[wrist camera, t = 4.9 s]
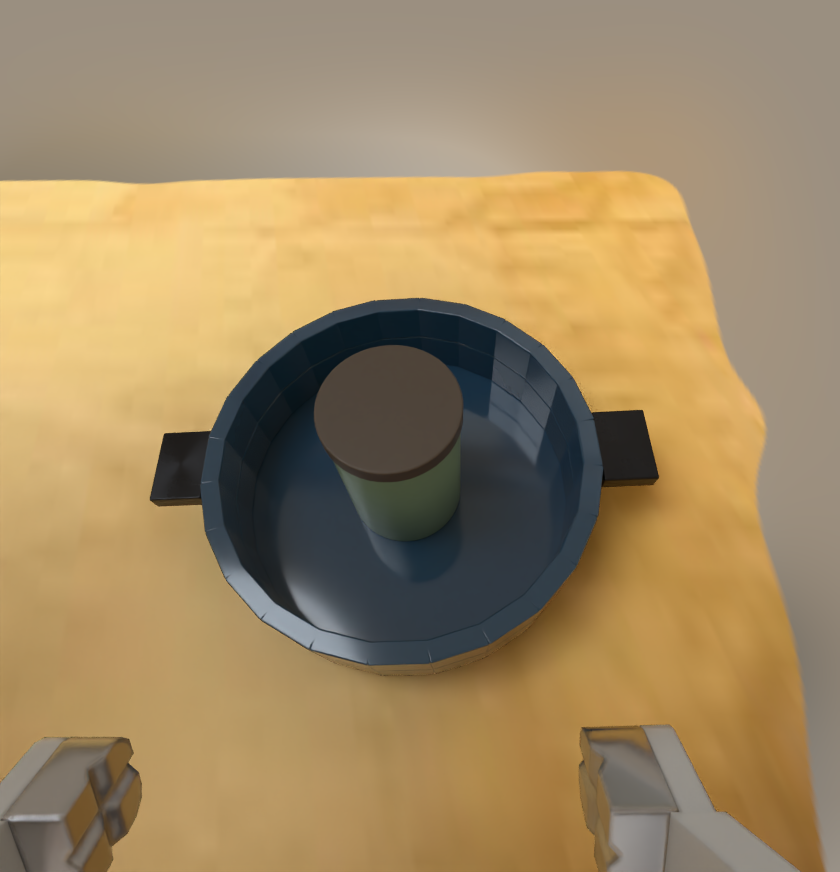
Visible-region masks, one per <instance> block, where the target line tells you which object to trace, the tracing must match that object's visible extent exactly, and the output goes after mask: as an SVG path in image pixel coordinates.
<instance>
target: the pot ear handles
mask: <svg viewBox="0 0 840 872" xmlns="http://www.w3.org/2000/svg"><path fill="white" fill-rule="evenodd" d="M592 415H593V417H594V421H595V426H596V431H597V436H598V441H599V447H600V452H601V457H602V462H603V477H602V486H601V487H618V486H641V485H654V483H655V482H656V481H657V480H658V478H659V475H658V471H657V467H656V463H655V458H654V454H653V450H652V446H651V442H650V438H649V434H648V429H647V425H646V421H645V417H644V413H643V410H631V411H611V412H593V413H592ZM210 433H211V431H203V432H182V433H165V434H164V436H163V441H162V445H161V450H160V455H159V459H158V464H157V468H156V473H155V477H154V482H153V487H152V491H151V496H150V501H152V502H153V503H154V504H156V505H157V506H181V505H202V499H201V490H200V485H201V477H202V471H203V466H204V460H205V454H206V449H207V443H208V439H209V435H210Z"/></svg>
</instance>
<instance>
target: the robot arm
mask: <svg viewBox="0 0 840 872" xmlns="http://www.w3.org/2000/svg"><path fill="white" fill-rule="evenodd" d="M580 748H581V752H582V756H583V759H584V760H583V761H582V762H581V763H580V764H579V787H580V798H581V803H582V809H583V814H584V818H585V822H586V826H587V828H588V830H589V831H590V832H591V833H592V834H593V835H594V836H595V847H594V857H595V860H596V864H597V868H598V871H599V872H801V871H799V870H798V869H797V868H796V867H794V866H793V865H792V864H791V863H789V862H788V861H787V860H786V859H784V858H783V857H782V856H781V855H779V854H778V853H777V852H776V851H774V850H773V849H772V848H771V847H769V846H768V845H767V844H766V843H764V842H763V841H762V840H761V839H759V838H758V837H757V836H756V835H754V834H753V833H752V832H751V831H749V830H748V829H747V828H746V827H744V826H743V825H742V824H741V823H739V822H738V821H737V820H736V819H734V818H733V817H732V816H730V815H729V814H728V813H727V812H716V810H715V808H714V806H713V804H712V802H711V800H710V798H709V796H708V794H707V792H706V790H705V788H704V787H703V785H702V783H701V781H700V779H699V777H698V775H697V773H696V771H695V769H694V767H693V765H692V763H691V761H690V759H689V757H688V755H687V753H686V751H685V749H684V747H683V745H682V743H681V741H680V739H679V738H678V736H677V734H676V732H675V730H674V729H673V728H672V727H671V726H670V725H640V726H608V727H582V728H581V732H580ZM133 754H134V752H133V749H132V746H131V743H130V740H129V739H127V738H123V737H44V738H42V739H41V740H39V741H37V742H35V743H34V744H33V745H32V746H31V748H30V749H29V750H28V751H27V752H26V753H25V755H24V756H23V757H22V758H21V759H20V760H19V762H18V763H17V764H16V765H15V766H14V767H13V769H12V770H11V771H10V772H9V773H8V775H7V776H6V777H5V778H4V779H3V780H2V782H1V783H0V872H107V870H108V868H109V867H110V865H111V863H112V861H113V853H112V846H113V845H114V844H115V843H117V842H118V841H119V840H120V839H121V838H123V837H124V836H125V835H126V834H128V832H129V830H130V828H131V826H132V824H133V822H134V820H135V818H136V817H137V813H138V809H139V805H140V802H141V798H142V783H141V779H140V775H139V772H138V771H137V770H135V769H134V768H133V767H132V766H131V765H130V764H129V763H128V762H129V761H130V759H131V757H132V755H133Z"/></svg>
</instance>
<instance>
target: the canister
mask: <svg viewBox="0 0 840 872" xmlns="http://www.w3.org/2000/svg"><path fill="white" fill-rule="evenodd" d="M314 423H315V428H316V431H317V434H318V437H319V439H320V441H321V443H322V445H323V447H324V449H325V451H326V452H327V454H328V455H329V457H330V458H331V459H332V460H333V462H334V464H335V466H336V468H337V470H338V472H339V474H340V476H341V479H342V481H343V483H344V485H345V487H346V489H347V491H348V493H349V495H350V498H351V500H352V502H353V504H354V506H355V508H356V510H357V512H358V514H359V516H360V518H361V519H362V521H363V522H364V523H365V524H366V525H367V526H368V527H369V528H370V529H371V530H372V531H374V532H375V533H377V534H378V535H380V536H383V537H385V538H388V539H391V540H397V541H414V540H418V539H422V538H425V537H428V536H430V535H432V534H434V533H435V532H437V531H438V530H440V529H441V528H442V527H443V526H444V525H445V524H446V523H447V522H448V521H449V520H450V519H451V517H452V516H453V514H454V512H455V510H456V508H457V506H458V502H459V498H460V432H461V429H462V424H463V397H462V392H461V389H460V386H459V384H458V382H457V379H456V378H455V376H454V375H453V373H452V372H451V371H450V370H449V368H448V367H447V366H446V365H445V364H444V363H442V362H441V361H440V360H439V359H437V358H436V357H434V356H433V355H431V354H429V353H427V352H425V351H423V350H420V349H417V348H413V347H408V346H401V345H385V346H378V347H373V348H369V349H366V350H363V351H360V352H358V353H356V354H354V355H352V356H350V357H349V358H347V359H345V360H344V361H343V362H341V363H340V364H339V365H337V366H336V367H335V368H334V369H333V370H332V371H331V372H330V374H329V375H328V376H327V377H326V379H325V380H324V382H323V383H322V385H321V387H320V389H319V392H318V394H317V397H316V401H315V406H314Z"/></svg>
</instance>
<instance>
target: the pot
mask: <svg viewBox="0 0 840 872" xmlns="http://www.w3.org/2000/svg"><path fill="white" fill-rule="evenodd" d="M385 345H401V346H408V347H413V348H417V349H420V350H423V351H425V352H427V353H429V354H431V355H433V356H434V357H436V358H437V359H439V360H440V361H441V362H442V363H444V364H445V365H446V366H447V367H448V368H449V370H450V371H451V372H452V373H453V375H454V376H455V378H456V379H457V382H458V384H459V386H460V389H461V392H462V397H463V424H462V429H461V432H460V498H459V502H458V506H457V508H456V510H455V512H454V514H453V516H452V517H451V519H450V520H449V521H448V522H447V523H446V524H445V525H444V526H443V527H442V528H441V529H440V530H438V531H437V532H435V533H434V534H432V535H430V536H428V537H425V538H422V539H418V540H414V541H397V540H391V539H388V538H385V537H383V536H380V535H378V534H377V533H375V532H374V531H372V530H371V529H370V528H369V527H368V526H367V525H366V524H365V523H364V522H363V521H362V519H361V518H360V516H359V514H358V512H357V510H356V508H355V506H354V504H353V502H352V500H351V498H350V495H349V493H348V491H347V489H346V487H345V485H344V483H343V481H342V479H341V476H340V474H339V472H338V470H337V468H336V466H335V464H334V462H333V460H332V459H331V458H330V457H329V455H328V454H327V452H326V451H325V449H324V447H323V445H322V443H321V441H320V439H319V437H318V434H317V431H316V428H315V423H314V406H315V401H316V397H317V394H318V392H319V389H320V387H321V385H322V383H323V382H324V380H325V379H326V377H327V376H328V375H329V374H330V372H331V371H332V370H333V369H334V368H335V367H336V366H337V365H339V364H340V363H341V362H343V361H344V360H345V359H347V358H349V357H350V356H352V355H354V354H356V353H358V352H360V351H363V350H366V349H369V348H373V347H378V346H385ZM602 477H603V462H602V457H601V452H600V447H599V441H598V436H597V431H596V426H595V421H594V417H593V415H592V413H591V411H590V410H589V408H588V406H587V404H586V402H585V400H584V398H583V396H582V394H581V392H580V390H579V388H578V386H577V384H576V382H575V380H574V379H573V377H572V376H571V375H570V373H569V372H568V371H567V370H566V369H565V368H564V367H563V366H562V365H561V364H560V362H559V361H558V360H557V359H556V358H555V357H554V356H553V355H552V354H551V353H550V351H549V350H548V349H547V348H546V347H545V346H544V345H542V344H541V343H540V342H538V341H537V340H535V339H534V338H532V337H531V336H529V335H528V334H526V333H525V332H523V331H522V330H520V329H519V328H517V327H516V326H514V325H513V324H511V323H510V322H508V321H505V319H503V318H500V317H498V316H495V315H492V314H490V313H487V312H484V311H482V310H479V309H476V308H474V307H471V306H468V305H466V304H460V303H453V302H447V301H440V300H433V299H426V298H408V299H391V300H377V301H375V300H374V301H370V302H366V303H363V304H359V305H355V306H351V307H348V308H344V309H340V310H336V311H333V312H332V313H329V314H327V315H325V316H323V317H321V318H319V319H317V320H315V321H313V322H311V323H309V324H307V325H305V326H303V327H301V328H299V329H297V330H295V331H293V333H290V334H289V335H288V336H286V337H285V338H284V339H283V340H281V341H280V342H279V343H278V344H276V345H275V346H274V347H273V348H271V349H270V350H269V351H268V352H266V353H265V354H264V355H263V356H261V357H260V358H259V359H258V360H257V361H256V362H255V363H254V364H253V365H252V366H251V368H250V369H249V370H248V371H247V373H246V374H245V375H244V376H243V378H242V379H241V380H240V381H239V383H238V384H237V385H236V386H235V388H234V389H233V390H232V391H231V393H230V394H229V396H227V398H226V400H225V402H224V405H223V407H222V409H221V411H220V413H219V415H218V417H217V420H216V422H215V424H214V426H213V428H212V430H211V433H210V435H209V439H208V443H207V449H206V454H205V460H204V466H203V471H202V477H201V485H200V490H201V499H202V508H203V517H204V527H205V532H206V536H207V538H208V541H209V543H210V545H211V548H212V550H213V552H214V554H215V557H216V559H217V561H218V564H219V566H220V568H221V571H222V573H223V575H224V578H225V579H226V581H227V582H228V583H229V585H230V586H231V587H232V588H233V589H234V590H235V591H236V593H237V594H238V595H239V596H240V597H241V598H242V600H243V601H244V602H245V603H246V604H247V605H248V606H249V608H250V609H251V610H252V611H253V612H254V613H255V615H256V616H257V617H258V618H259V619H260V620H261V621H262V622H264V623H266V624H267V625H269V626H270V627H272V628H274V629H275V630H277V631H279V632H280V633H282V634H283V635H285V636H287V637H288V638H290V639H292V640H293V641H295V642H296V643H298V644H300V645H301V646H303V647H304V648H306V649H308V650H310V651H312V652H313V653H315V654H317V655H319V656H321V657H323V658H325V659H327V660H329V661H331V662H333V663H336V664H340V665H344V666H347V667H351V668H355V669H358V670H362V671H366V672H370V673H374V674H378V675H384V676H389V675H408V676H410V675H425V674H434V673H436V674H437V673H440V672H443V671H446V670H450V669H453V668H457V667H461V666H463V665H466V664H468V663H471V662H474V661H477V660H481V659H483V658H484V657H487V656H489V655H490V654H492V653H493V652H495V651H496V650H498V649H499V648H501V647H503V646H504V645H506V644H507V643H509V642H510V641H511V640H513V639H514V638H516V637H517V636H518V635H520V634H521V633H523V632H524V631H526V630H527V628H529V627H530V626H531V625H532V624H533V622H534V621H535V620H536V619H537V617H538V616H539V615H540V614H541V613H542V612H543V610H544V609H545V608H546V607H547V605H548V604H549V603H550V602H551V601H552V599H553V598H554V597H555V596H556V595H557V593H558V592H559V591H560V589H561V588H562V587H563V585H564V584H565V583H566V581H567V580H568V578H569V577H570V576H571V574H572V573H573V572H574V570H575V569H576V567H577V565H578V563H579V561H580V559H581V556H582V554H583V552H584V549H585V547H586V545H587V542H588V540H589V537H590V535H591V533H592V530H593V528H594V526H595V523H596V521H597V517H598V515H599V505H600V496H601V486H602Z"/></svg>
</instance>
